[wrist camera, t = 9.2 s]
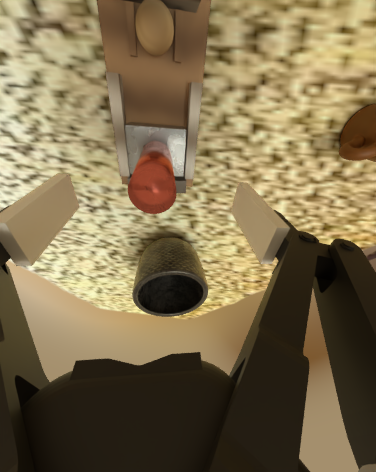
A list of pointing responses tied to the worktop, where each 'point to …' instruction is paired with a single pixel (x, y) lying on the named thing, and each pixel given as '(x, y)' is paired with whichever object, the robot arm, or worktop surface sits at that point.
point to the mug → (360, 136)
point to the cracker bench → (155, 75)
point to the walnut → (154, 27)
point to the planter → (169, 279)
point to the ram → (154, 164)
